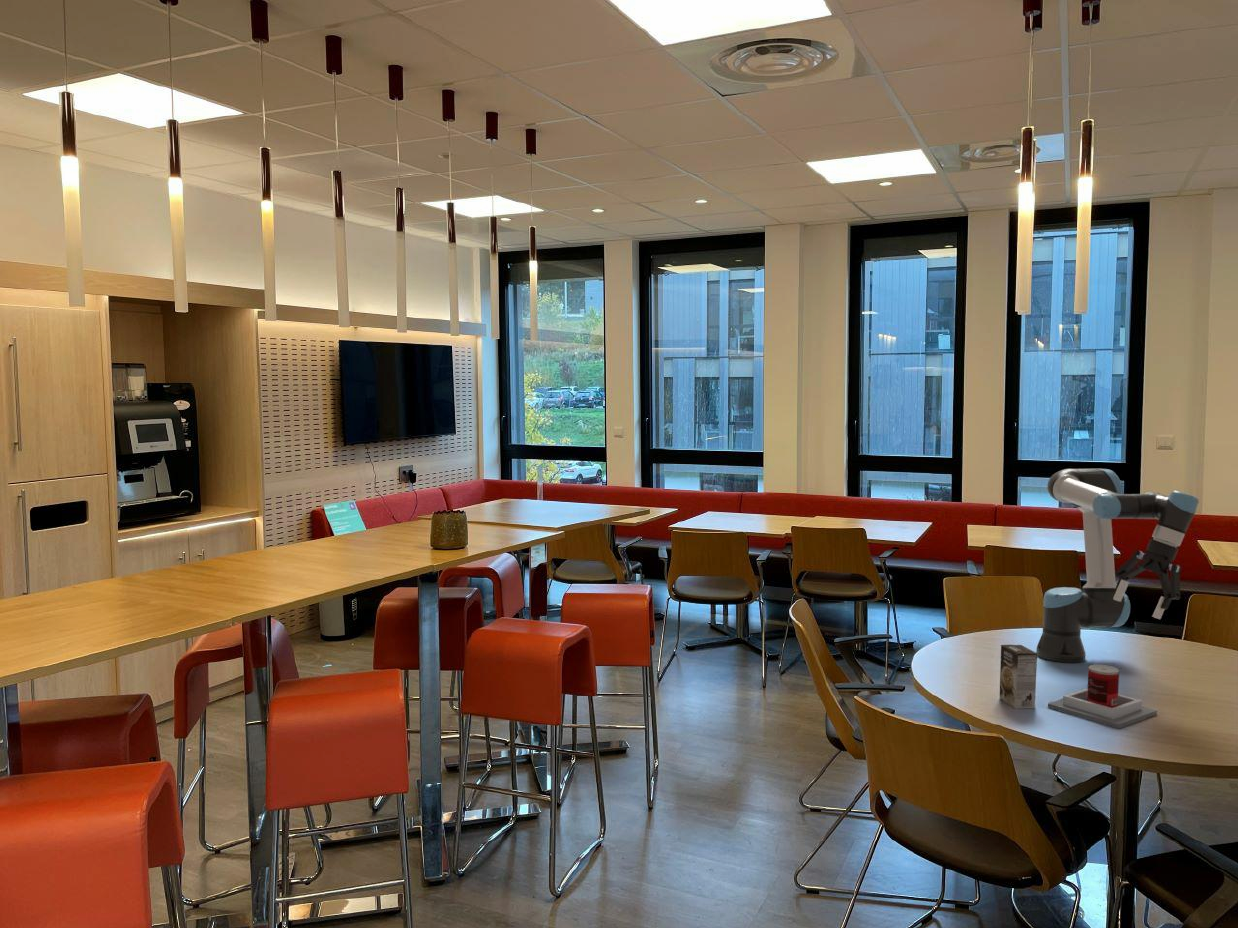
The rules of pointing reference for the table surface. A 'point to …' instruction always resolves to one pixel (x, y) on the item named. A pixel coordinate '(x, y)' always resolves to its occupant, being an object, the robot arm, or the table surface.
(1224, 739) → the table surface
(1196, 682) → the table surface
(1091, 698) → the canned food
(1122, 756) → the table surface
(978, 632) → the table surface
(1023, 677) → the coffee box
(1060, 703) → the end holder
